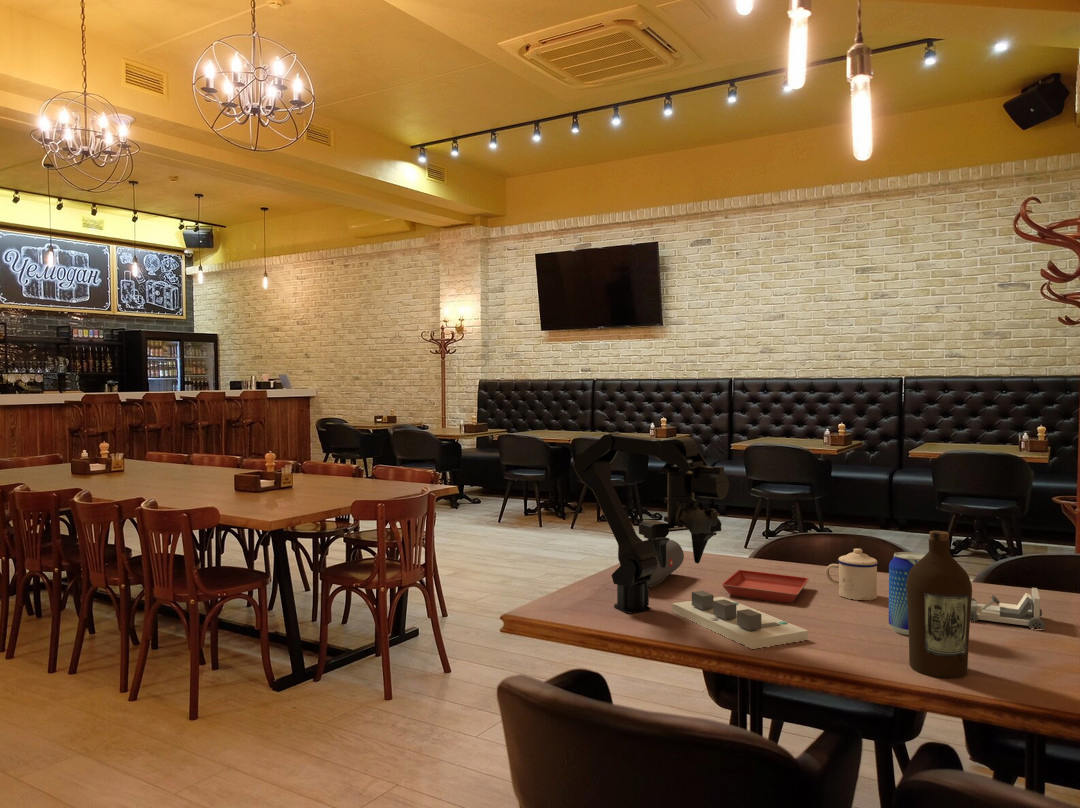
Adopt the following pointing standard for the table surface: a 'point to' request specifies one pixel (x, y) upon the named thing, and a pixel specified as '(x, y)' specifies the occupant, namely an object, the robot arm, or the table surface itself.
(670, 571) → the bluetooth speaker
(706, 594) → the grey block
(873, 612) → the table surface
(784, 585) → the plant saucer
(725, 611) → the dark grey box
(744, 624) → the dark grey block
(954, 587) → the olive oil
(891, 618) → the beer can
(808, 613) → the table surface
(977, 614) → the toy car
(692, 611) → the switch board
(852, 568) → the teacup with lid
